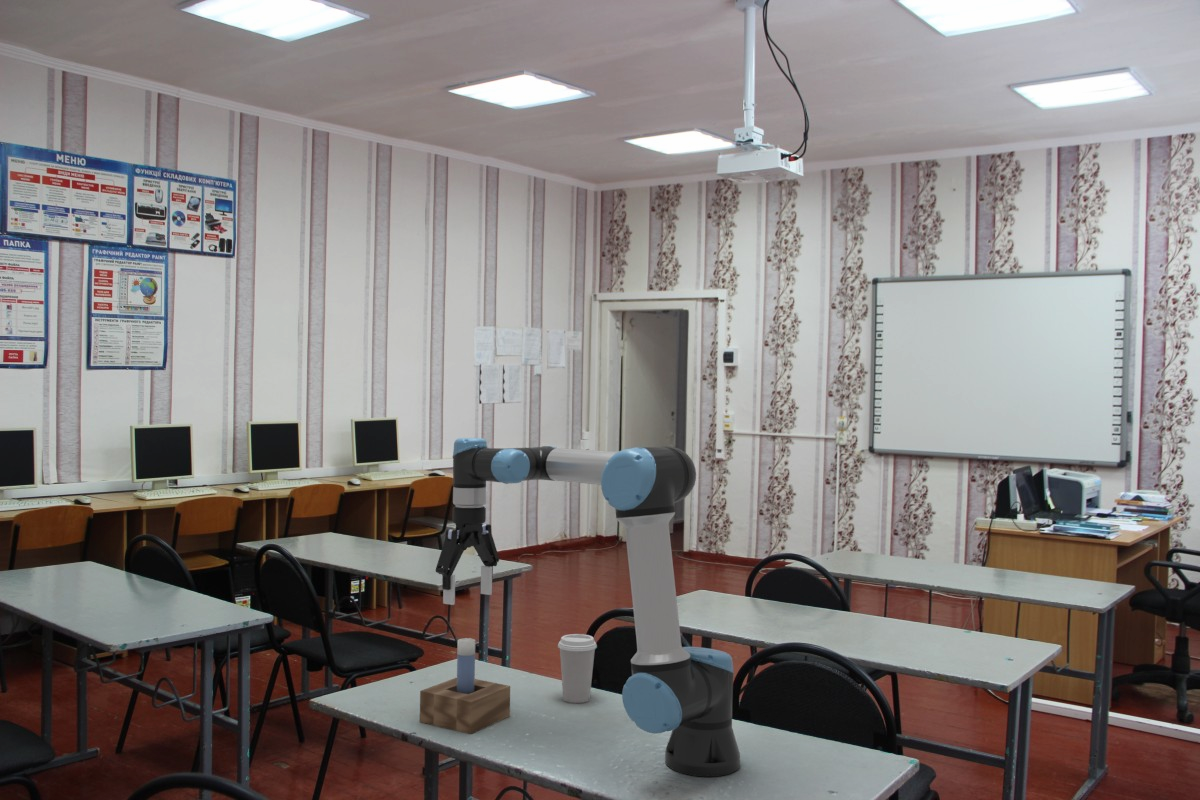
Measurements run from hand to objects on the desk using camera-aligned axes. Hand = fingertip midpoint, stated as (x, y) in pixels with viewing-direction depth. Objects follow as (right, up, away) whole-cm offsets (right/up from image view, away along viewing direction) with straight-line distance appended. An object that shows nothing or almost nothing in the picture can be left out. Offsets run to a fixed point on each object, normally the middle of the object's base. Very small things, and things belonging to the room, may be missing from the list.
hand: (468, 599), depth 227 cm
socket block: (-1, -27, 0) cm, 27 cm away
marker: (-1, -27, 0) cm, 27 cm away
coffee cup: (+24, -28, +17) cm, 41 cm away
